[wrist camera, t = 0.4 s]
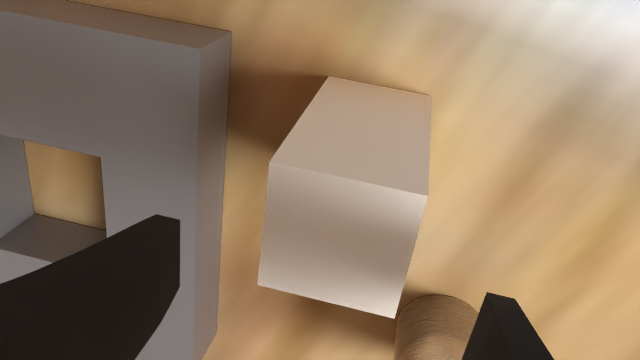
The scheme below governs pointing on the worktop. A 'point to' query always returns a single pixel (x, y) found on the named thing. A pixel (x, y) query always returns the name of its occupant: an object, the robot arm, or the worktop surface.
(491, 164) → the worktop surface
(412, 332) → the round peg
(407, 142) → the square peg
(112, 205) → the socket plate
